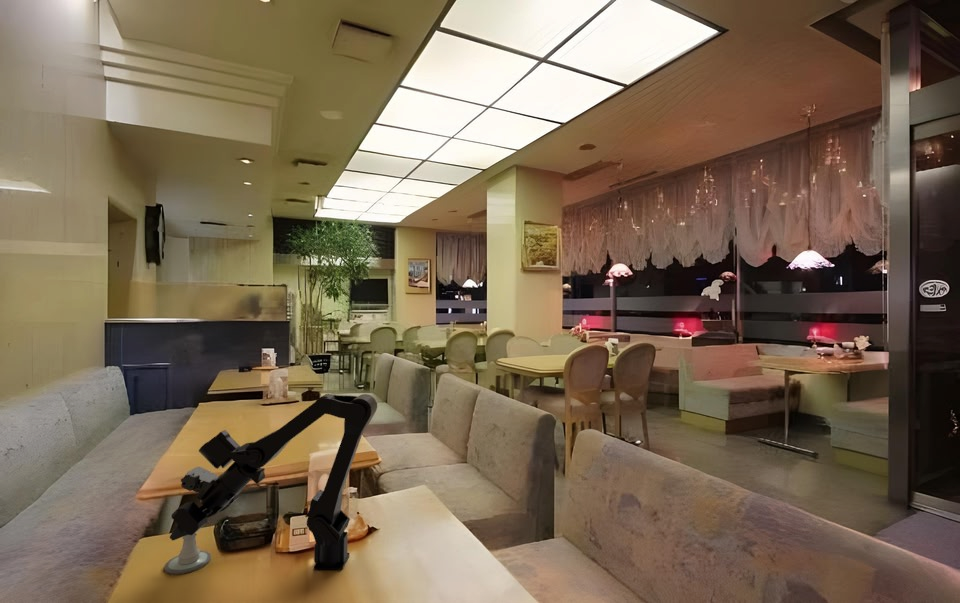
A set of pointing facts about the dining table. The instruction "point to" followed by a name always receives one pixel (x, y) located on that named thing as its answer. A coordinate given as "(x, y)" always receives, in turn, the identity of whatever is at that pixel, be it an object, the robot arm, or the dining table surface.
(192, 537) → the rook chess piece
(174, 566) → the coaster
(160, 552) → the dining table surface
